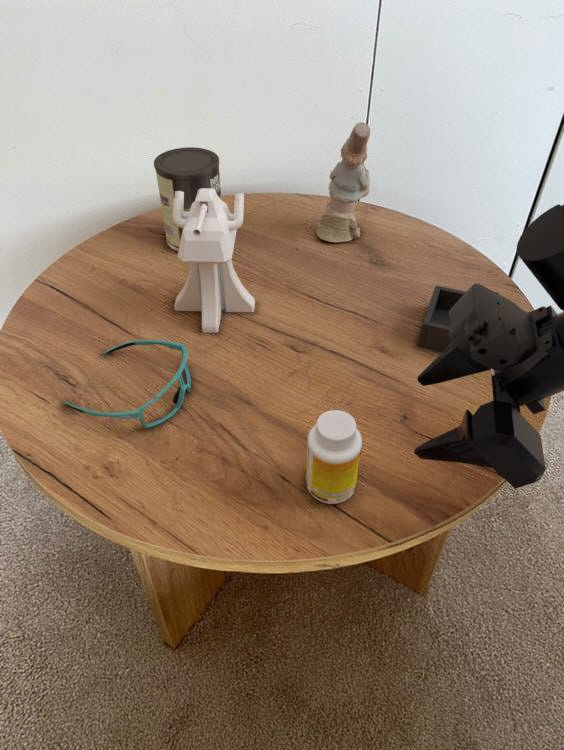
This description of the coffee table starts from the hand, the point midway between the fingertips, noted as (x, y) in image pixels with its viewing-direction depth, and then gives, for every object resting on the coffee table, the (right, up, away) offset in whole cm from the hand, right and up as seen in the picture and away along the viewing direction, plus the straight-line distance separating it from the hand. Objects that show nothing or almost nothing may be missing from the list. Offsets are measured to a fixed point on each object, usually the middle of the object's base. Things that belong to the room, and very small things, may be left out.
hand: (418, 415), depth 54 cm
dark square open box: (+12, +10, +29) cm, 33 cm away
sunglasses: (-32, +2, +21) cm, 38 cm away
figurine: (-2, +29, +49) cm, 57 cm away
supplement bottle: (-7, -8, +10) cm, 15 cm away
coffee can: (-28, +28, +48) cm, 62 cm away
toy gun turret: (-23, +14, +33) cm, 43 cm away
